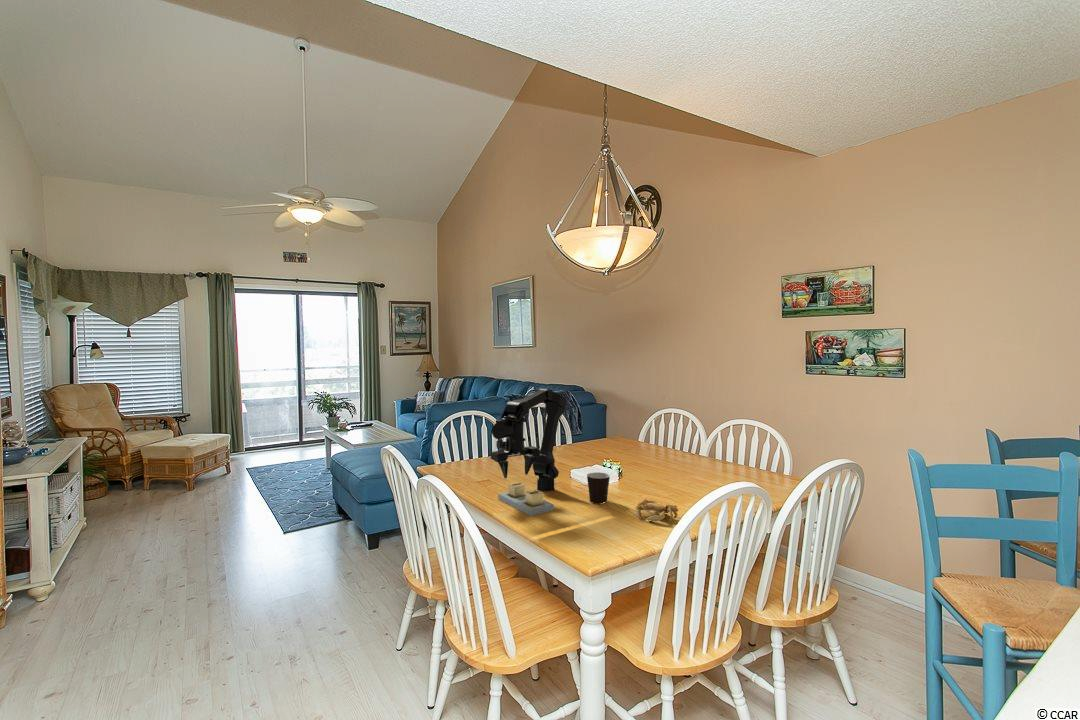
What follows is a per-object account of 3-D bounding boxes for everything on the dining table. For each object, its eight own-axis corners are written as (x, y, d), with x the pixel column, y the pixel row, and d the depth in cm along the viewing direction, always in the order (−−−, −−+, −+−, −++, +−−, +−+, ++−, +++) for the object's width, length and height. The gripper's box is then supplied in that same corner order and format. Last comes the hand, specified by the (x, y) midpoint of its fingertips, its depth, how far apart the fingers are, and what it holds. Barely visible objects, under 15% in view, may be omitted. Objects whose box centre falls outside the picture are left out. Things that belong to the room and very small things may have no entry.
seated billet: (535, 506, 183) (535, 489, 183) (542, 509, 180) (542, 492, 179) (525, 508, 181) (525, 491, 181) (532, 511, 177) (532, 494, 177)
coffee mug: (593, 496, 198) (593, 471, 197) (613, 500, 193) (613, 474, 192) (578, 504, 188) (578, 477, 188) (598, 508, 183) (599, 481, 183)
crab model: (625, 517, 176) (625, 501, 175) (647, 508, 184) (647, 493, 184) (663, 529, 164) (663, 512, 164) (684, 519, 173) (684, 503, 172)
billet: (518, 497, 193) (518, 481, 193) (524, 500, 190) (524, 484, 189) (508, 499, 191) (508, 483, 190) (514, 502, 187) (514, 486, 187)
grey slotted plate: (498, 501, 191) (498, 493, 191) (520, 497, 197) (520, 489, 197) (530, 518, 173) (530, 510, 173) (553, 512, 179) (553, 504, 179)
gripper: (525, 429, 201) (525, 468, 202) (483, 434, 190) (483, 475, 191) (541, 433, 192) (541, 474, 192) (498, 439, 181) (498, 482, 182)
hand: (515, 476), depth 190 cm, fingers open, 9 cm apart
